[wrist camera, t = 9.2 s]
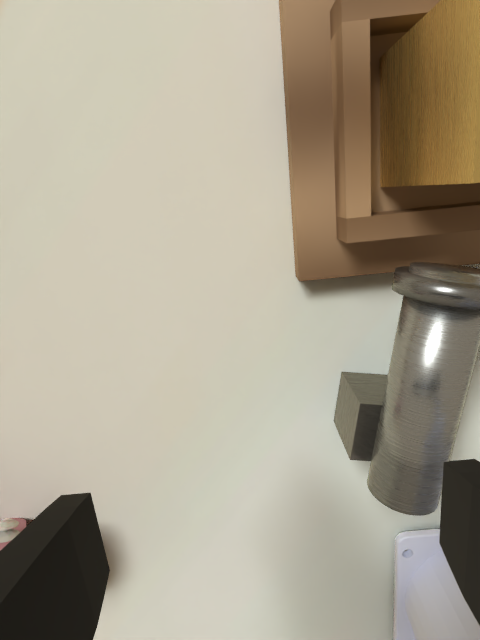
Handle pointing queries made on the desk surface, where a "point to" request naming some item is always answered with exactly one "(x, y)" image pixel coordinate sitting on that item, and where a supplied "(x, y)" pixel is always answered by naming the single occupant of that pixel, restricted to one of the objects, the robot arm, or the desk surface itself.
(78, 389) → the desk surface
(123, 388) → the desk surface
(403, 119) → the rectangular peg
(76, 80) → the desk surface
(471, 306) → the shaft
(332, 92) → the socket
